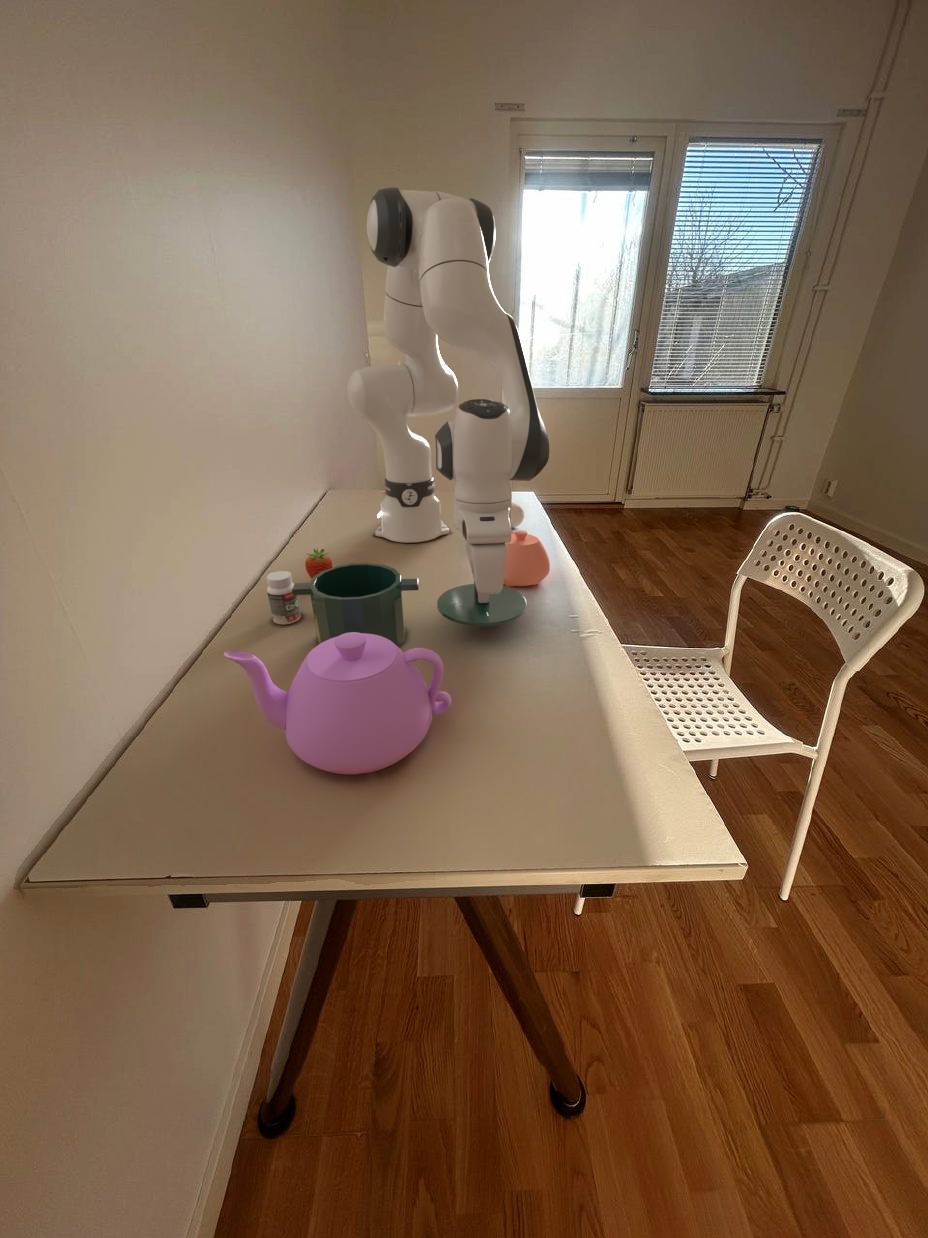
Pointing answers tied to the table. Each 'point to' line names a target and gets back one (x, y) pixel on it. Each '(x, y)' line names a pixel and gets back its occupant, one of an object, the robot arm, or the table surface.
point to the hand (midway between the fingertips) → (481, 595)
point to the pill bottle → (282, 598)
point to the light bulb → (516, 515)
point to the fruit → (317, 563)
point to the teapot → (351, 702)
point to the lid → (481, 606)
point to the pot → (358, 601)
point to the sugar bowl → (525, 560)
